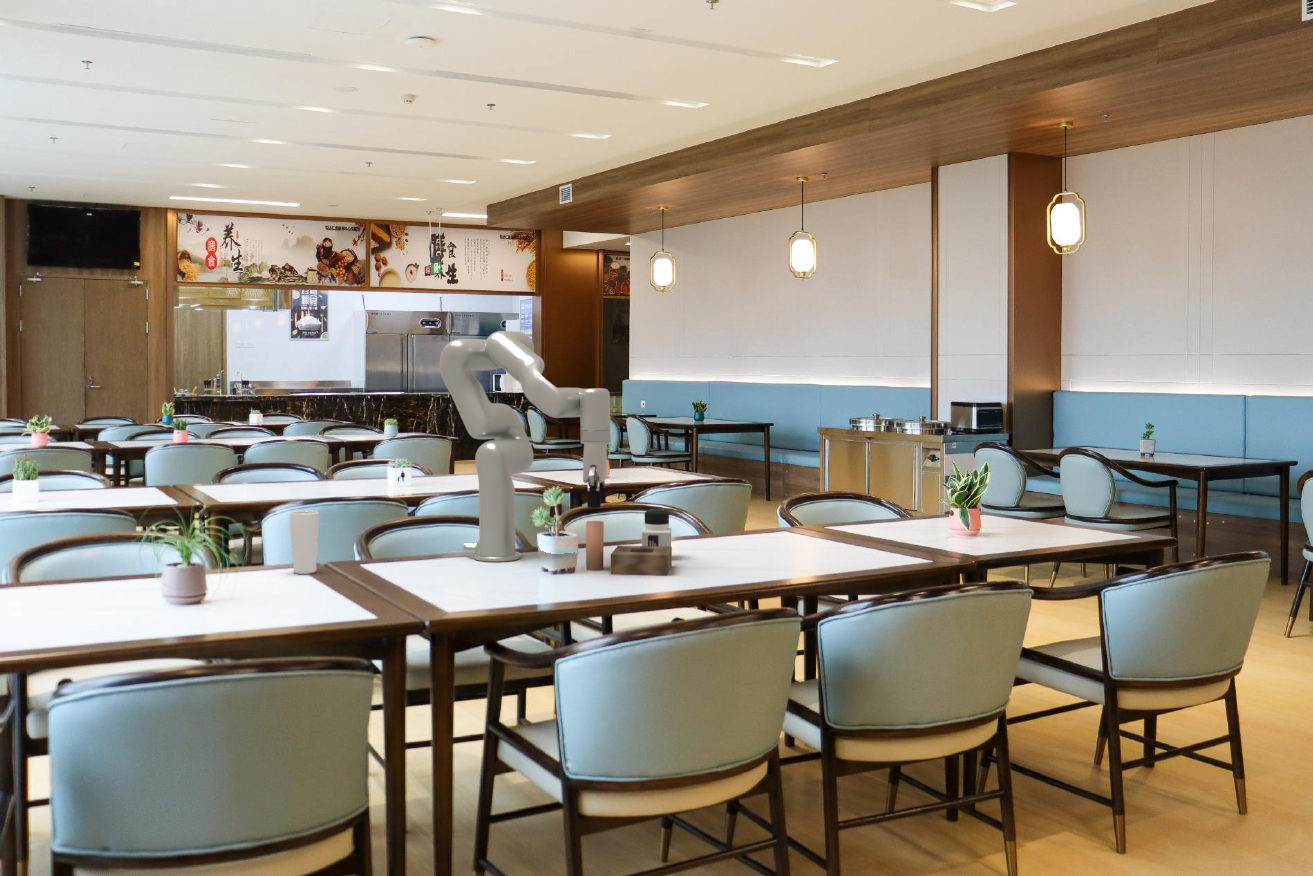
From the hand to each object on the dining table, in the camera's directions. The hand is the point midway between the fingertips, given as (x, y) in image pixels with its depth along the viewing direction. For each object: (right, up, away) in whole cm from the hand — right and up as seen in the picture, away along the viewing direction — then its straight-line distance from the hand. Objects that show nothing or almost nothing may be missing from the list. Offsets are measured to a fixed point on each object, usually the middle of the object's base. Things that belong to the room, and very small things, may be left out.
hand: (596, 505), depth 292 cm
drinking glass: (-72, -17, -6) cm, 74 cm away
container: (+15, -16, +19) cm, 29 cm away
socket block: (+11, -16, 0) cm, 20 cm away
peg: (-1, -16, +1) cm, 16 cm away
